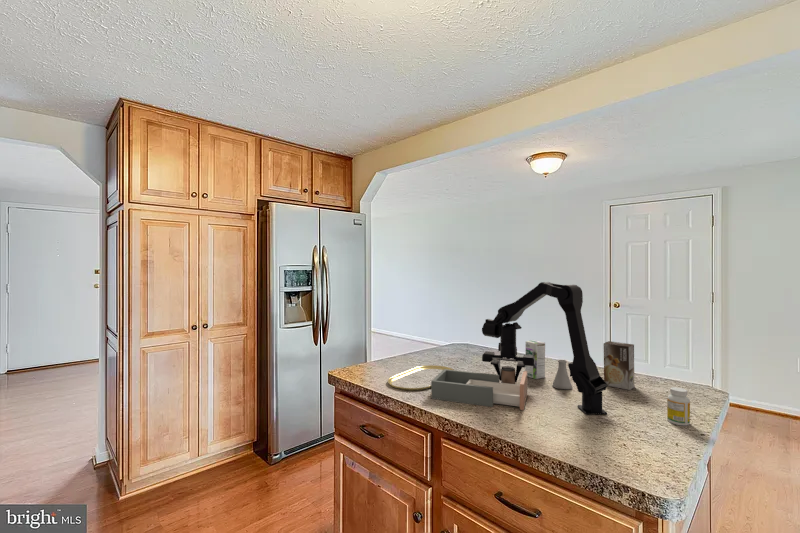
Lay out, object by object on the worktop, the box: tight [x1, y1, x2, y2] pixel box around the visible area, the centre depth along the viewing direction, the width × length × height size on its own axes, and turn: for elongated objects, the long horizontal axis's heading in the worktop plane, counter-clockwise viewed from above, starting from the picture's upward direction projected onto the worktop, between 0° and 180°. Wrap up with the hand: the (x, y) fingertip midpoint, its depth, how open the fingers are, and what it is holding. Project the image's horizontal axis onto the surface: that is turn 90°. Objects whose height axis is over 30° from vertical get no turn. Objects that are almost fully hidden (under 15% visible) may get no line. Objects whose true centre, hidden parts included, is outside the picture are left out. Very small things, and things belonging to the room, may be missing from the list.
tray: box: [466, 370, 528, 411], centre depth 131 cm, size 20×16×8 cm
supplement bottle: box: [666, 386, 691, 427], centre depth 111 cm, size 5×5×10 cm
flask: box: [551, 359, 573, 390], centre depth 143 cm, size 7×7×10 cm
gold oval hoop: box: [387, 364, 455, 392], centre depth 154 cm, size 19×35×2 cm, turn 145°
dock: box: [430, 369, 500, 408], centre depth 134 cm, size 21×16×6 cm
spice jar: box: [500, 365, 516, 384], centre depth 143 cm, size 5×5×7 cm
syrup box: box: [524, 339, 546, 380], centre depth 157 cm, size 6×6×14 cm
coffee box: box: [603, 340, 636, 391], centre depth 145 cm, size 9×6×16 cm
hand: (508, 381), depth 143 cm, fingers closed on spice jar, 5 cm apart
